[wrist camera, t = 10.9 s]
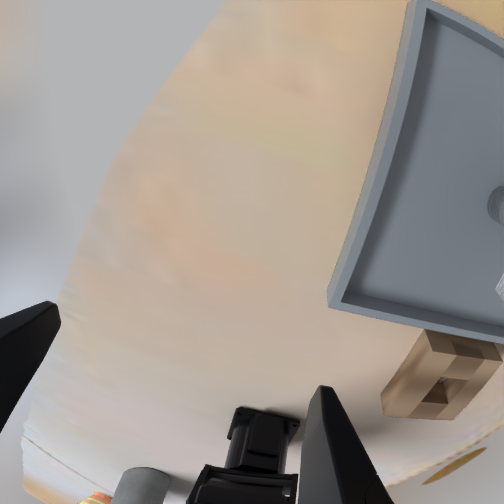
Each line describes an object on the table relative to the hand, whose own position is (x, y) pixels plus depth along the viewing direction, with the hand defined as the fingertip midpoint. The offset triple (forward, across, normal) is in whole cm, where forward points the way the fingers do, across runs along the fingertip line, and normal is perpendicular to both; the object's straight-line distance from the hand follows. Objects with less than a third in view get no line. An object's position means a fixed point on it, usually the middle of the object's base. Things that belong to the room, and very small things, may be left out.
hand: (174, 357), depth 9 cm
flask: (+12, +9, +52) cm, 54 cm away
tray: (+12, -16, -6) cm, 21 cm away
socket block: (+12, -19, +9) cm, 24 cm away
